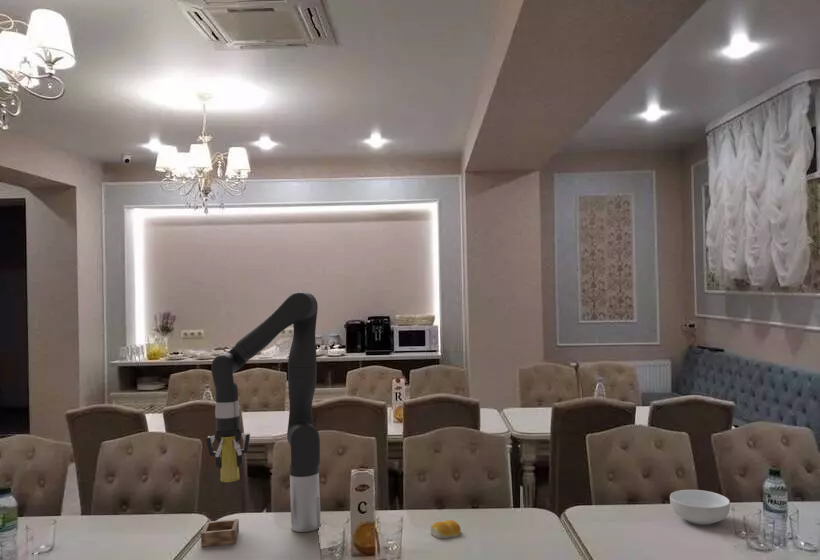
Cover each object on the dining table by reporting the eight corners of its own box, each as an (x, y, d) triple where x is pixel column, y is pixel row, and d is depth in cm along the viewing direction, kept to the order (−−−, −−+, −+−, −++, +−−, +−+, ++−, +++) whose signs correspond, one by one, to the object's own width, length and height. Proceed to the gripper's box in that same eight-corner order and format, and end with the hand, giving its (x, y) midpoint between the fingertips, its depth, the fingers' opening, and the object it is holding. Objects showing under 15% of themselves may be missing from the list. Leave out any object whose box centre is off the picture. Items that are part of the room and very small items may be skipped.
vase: (234, 482, 203) (232, 437, 203) (216, 482, 204) (215, 437, 204) (243, 477, 209) (241, 433, 209) (225, 476, 210) (224, 433, 210)
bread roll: (465, 535, 192) (465, 521, 192) (440, 541, 188) (439, 527, 188) (451, 526, 200) (450, 513, 200) (426, 532, 195) (425, 519, 196)
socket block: (238, 531, 201) (238, 518, 201) (235, 543, 192) (235, 530, 192) (206, 534, 200) (205, 521, 200) (201, 546, 190) (200, 533, 190)
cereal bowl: (670, 527, 192) (669, 503, 192) (670, 509, 208) (669, 487, 208) (733, 533, 186) (732, 508, 186) (728, 514, 201) (727, 491, 202)
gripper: (251, 411, 212) (253, 462, 211) (206, 414, 209) (208, 466, 209) (249, 415, 204) (251, 468, 204) (202, 418, 202) (204, 472, 201)
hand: (229, 467), depth 206 cm, fingers closed on vase, 5 cm apart
